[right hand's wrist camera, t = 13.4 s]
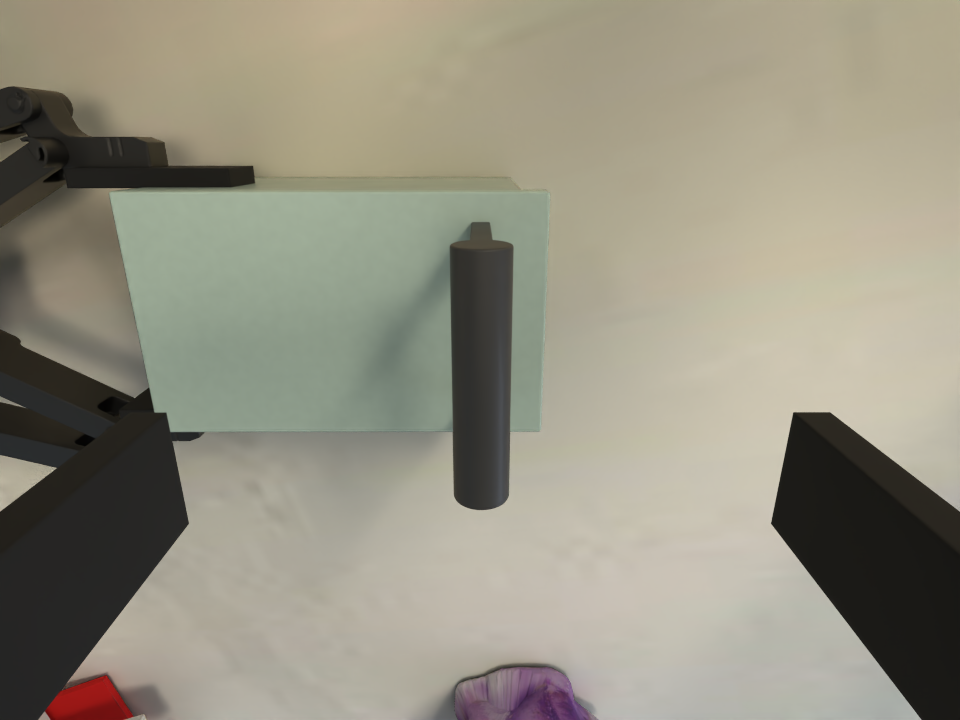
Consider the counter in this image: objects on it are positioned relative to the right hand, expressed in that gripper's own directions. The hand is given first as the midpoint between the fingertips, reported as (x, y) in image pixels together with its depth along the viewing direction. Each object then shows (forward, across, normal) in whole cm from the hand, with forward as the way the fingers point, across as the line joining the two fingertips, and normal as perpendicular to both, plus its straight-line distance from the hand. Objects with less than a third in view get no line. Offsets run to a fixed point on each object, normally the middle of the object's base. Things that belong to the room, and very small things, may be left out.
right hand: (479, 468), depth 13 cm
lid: (+12, -6, 0) cm, 13 cm away
